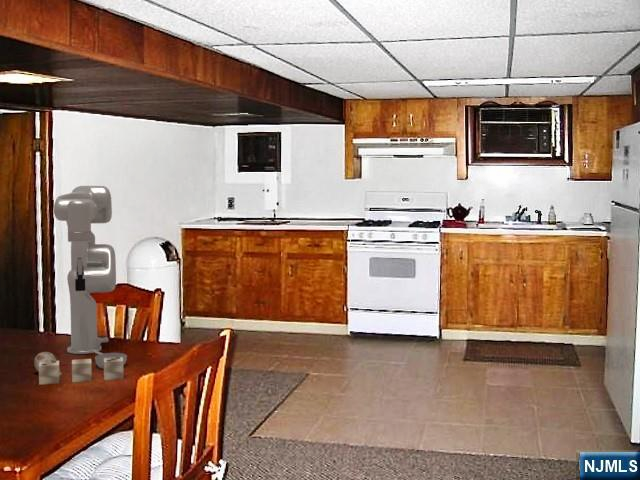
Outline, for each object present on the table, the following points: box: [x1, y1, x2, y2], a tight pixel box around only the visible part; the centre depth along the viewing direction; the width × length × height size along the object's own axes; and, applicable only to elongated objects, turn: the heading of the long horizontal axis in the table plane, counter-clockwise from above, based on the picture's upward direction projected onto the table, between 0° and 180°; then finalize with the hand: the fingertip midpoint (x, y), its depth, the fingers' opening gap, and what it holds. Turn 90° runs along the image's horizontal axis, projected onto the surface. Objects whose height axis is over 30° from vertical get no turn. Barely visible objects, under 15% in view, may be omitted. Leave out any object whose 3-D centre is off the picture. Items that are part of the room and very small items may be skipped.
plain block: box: [71, 358, 93, 383], centre depth 250 cm, size 6×6×6 cm
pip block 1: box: [38, 360, 61, 386], centre depth 247 cm, size 6×6×6 cm
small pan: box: [91, 350, 128, 370], centre depth 270 cm, size 11×18×4 cm, turn 47°
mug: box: [33, 351, 62, 376], centre depth 256 cm, size 8×10×10 cm
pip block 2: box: [103, 357, 125, 381], centre depth 252 cm, size 6×6×6 cm
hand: (80, 290), depth 261 cm, fingers closed
